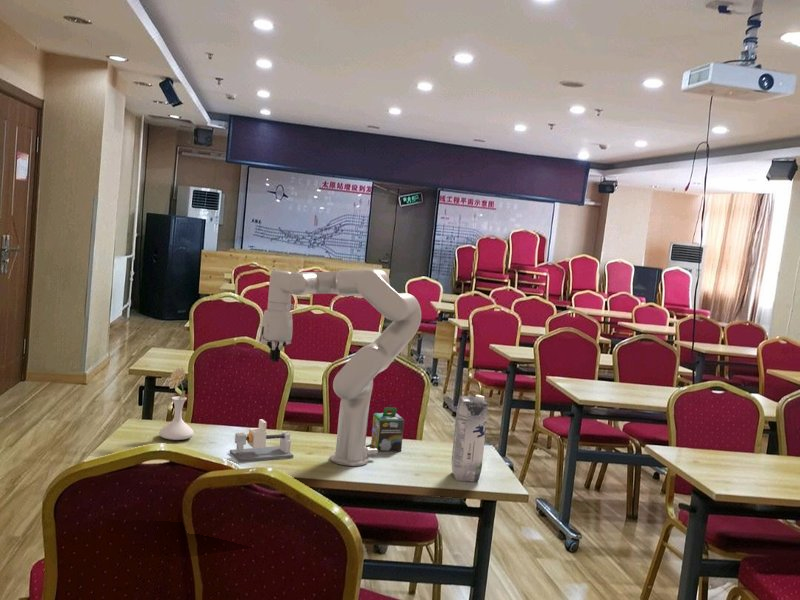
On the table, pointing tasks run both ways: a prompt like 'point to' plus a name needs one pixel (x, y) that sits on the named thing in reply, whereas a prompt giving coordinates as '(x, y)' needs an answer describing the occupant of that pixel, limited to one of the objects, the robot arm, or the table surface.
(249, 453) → the mini bench vise
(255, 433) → the cream tall block
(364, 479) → the table surface
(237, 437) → the connector
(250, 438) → the lead screw with knob
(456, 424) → the juice carton
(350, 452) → the robot arm
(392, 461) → the table surface
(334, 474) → the table surface
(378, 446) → the chalk box
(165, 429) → the flower in vase
